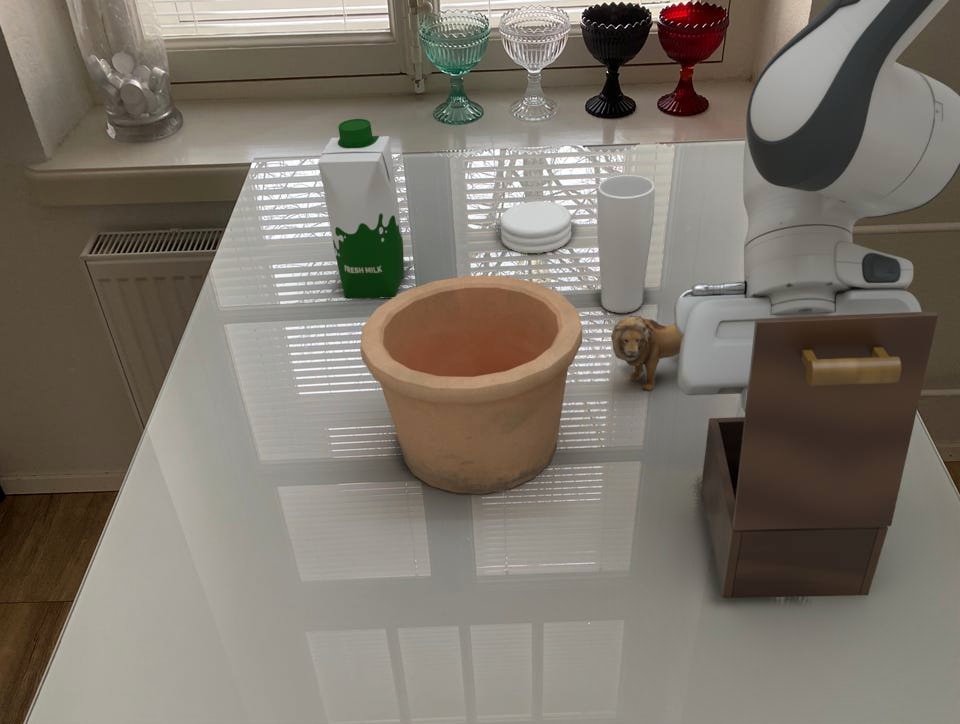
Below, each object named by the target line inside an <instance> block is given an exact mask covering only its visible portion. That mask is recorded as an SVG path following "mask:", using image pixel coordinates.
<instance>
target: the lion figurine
mask: <svg viewBox="0 0 960 724" xmlns="http://www.w3.org/2000/svg"><path fill="white" fill-rule="evenodd" d="M610 339H611V342H612V351H613V353H614V355H615V357H616V358H617V359H619V360H622V361H625V362H626V364H628V365H629V366H630V367H634V371H633V372H631V373H630V375H629V379H630V380H631V381H638V380H639V379H640V378H641V377H642V374H643V372H644V367H645V372H646V378H645V382H644V383H643V384H642V389H643V390H644V391H649V392H650V391H652V390H653V389H654V387H655V385H656V371H657V368H658V367H657V366H658V364H659V362H660V359H668V358H671V357H675V356H677V355H679V353H680V346H681V340H682V336H681V335H680V334H679V333H678V331H677V329H676V327H675V323H671V324H667V325H661V324H660V323H658V321H656V320H654V319H650V318H645V317H642V316H641V315H638V316H637V315H629V316H625V317H622V318H620V319H619V320H618V321H617V323H615V324H614V326H613V329H612V332H611V336H610Z"/></svg>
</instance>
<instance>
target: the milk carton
mask: <svg viewBox="0 0 960 724" xmlns="http://www.w3.org/2000/svg"><path fill="white" fill-rule="evenodd" d="M337 128H338V135H339V137H331V138H330V140H329V141H328V143H327V144H326V146H325V147H324V149H323V150H322V152H321V155H320V157H319V159H318V161H317V165H318V169H319V173H320V177H321V183H322V187H323V194H324V199H325V200H324V201H325V206H326V211H327V216H328V223H329V228H330V232H331V240H332V244H333V249H334V254H335V258H336V263H337V264H336V265H337V269H338V273H339V279H340V283H341V287H342V292H343V296H344V299H345V298H347V299H381V298H380V297H395V296H397V294H398V291H399V289H400V286H401V283H400V282H402V280H403V277H404V275H405V263H404V261H405V259H404V258H405V257H404V256H405V255H404V240H403V232H402V223H401V216H400V215H401V214H400V207H399V200H398V192H397V184H396V176H395V169H394V163H393V155H392V148H391V139H390V136H389V135H384V136H383V135H382V136H380V135H373V130H372V124H371V121H369V120H368V119H365V118H351V119H347V120H344V121H342V122H340V123H339V124H338V126H337ZM403 274H404V275H403ZM401 279H402V280H401ZM399 285H400V286H399ZM398 288H399V289H398ZM396 293H397V294H396Z"/></svg>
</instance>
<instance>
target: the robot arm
mask: <svg viewBox="0 0 960 724" xmlns="http://www.w3.org/2000/svg"><path fill="white" fill-rule="evenodd" d="M948 2H950V0H830V1H829V3H827V5H826V6H825V7H823V9H822V10H821V11H820V12H819V13H818V14H816V16H815V17H814V18H813V19H812V20H811V21H810V22H808V23H807V25H805V26H804V27H803V28H802V29H801V30H799V31H798V33H796V34H795V35H794V36H793V37H792V38H791V39H790V40H789V41H787V42H786V43H785V44H784V45H783V46H782V47H781V48H780V49H779V50H778V51H777V52H776V53H775V54H774V55H773V56H772V57H771V59H770V60H769V61H768V63H767V64H766V65H765V67H764V68H763V70H762V71H761V73H760V74H759V76H758V78H757V80H756V82H755V84H754V86H753V88H752V91H751V93H750V97H749V100H748V104H747V110H746V120H745V121H746V122H745V127H746V129H745V130H746V133H745V140H744V149H743V168H742V170H743V171H742V173H743V174H742V182H743V183H742V190H743V191H742V193H743V194H742V195H743V197H742V199H743V204H744V208H745V211H746V214H747V222H748V223H747V224H748V225H747V232H746V236H745V239H744V243H743V276H744V277H743V281H733V282H721V283H714V284H709V283H696V284H693V285H692V286H691V288H689V289H686V290H685V291H683V292H682V293H681V294H680V295H679V296H678V297H677V298H676V300H675V303H674V324H675V327H676V329H677V331H678V333H679V334H680V335H681V336H682V340H681V346H680V353H679V354H678V362H677V386H678V387H679V388H680V390H681V391H682V392H683V393H684V395H686V396H707V395H708V396H709V395H710V396H712V395H713V396H714V395H716V396H717V395H741V397H740V399H741V400H740V401H741V408H742V410H743V411H744V412H745V409H746V400H747V391H748V382H749V373H750V364H751V355H752V346H753V336H754V327H755V319H763V318H787V317H812V316H836V315H860V314H885V313H909V312H923V310H922V309H921V304H920V303H919V301H918V300H917V298H916V297H915V295H913V294H912V293H911V292H909V291H907V289H908V288H909V286H910V285H911V283H912V282H913V279H914V265H913V263H912V261H911V260H908V259H907V258H904V257H900V256H897V255H893V254H890V253H885V252H881V251H879V250H875V249H872V248H869V247H866V246H863V245H859V244H856V243H854V242H853V241H854V235H853V233H854V232H853V230H854V226H855V223H856V222H858V221H859V220H861V219H863V218H864V219H865V218H866V219H873V218H880V217H881V218H882V217H888V216H893V215H897V214H901V213H905V212H906V213H907V212H910V211H913V210H916V209H919V208H922V207H923V206H925V205H927V204H929V203H930V202H932V201H933V200H934V199H935V198H937V197H938V195H940V194H941V193H942V192H943V191H944V190H945V189H946V188H947V187H948V186H949V185H950V183H951V182H952V181H953V179H954V178H955V176H956V175H957V173H958V172H959V169H960V94H959V93H958V92H957V91H956V90H954V89H952V88H951V87H950V86H947V85H946V84H944V82H943V83H942V82H941V81H939V80H937V79H936V78H933V77H931V76H929V75H927V74H925V73H923V72H921V71H918V70H916V69H914V68H911V67H907V66H904V65H902V64H901V63H898V62H896V61H897V60H898V58H899V57H900V56H901V54H902V53H903V52H904V51H905V50H906V48H908V47H909V46H910V44H911V43H913V41H914V40H915V39H916V38H917V36H918V35H919V34H920V33H921V32H922V31H923V30H924V29H925V28H926V26H928V24H929V23H930V22H931V21H932V20H933V19H934V18H935V17H936V15H937V14H938V13H939V12H940V11H941V10H942V9H943V8H944V7H945V6H946V4H947V3H948ZM689 295H691V296H689Z"/></svg>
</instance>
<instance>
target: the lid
mask: <svg viewBox="0 0 960 724" xmlns="http://www.w3.org/2000/svg"><path fill="white" fill-rule="evenodd" d="M938 318H939V314H938V313H937V312H936V311H933V310H932V311H922V312H909V313H885V314H860V315H836V316H812V317H787V318H763V319H755V327H754V336H753V346H752V355H751V364H750V373H749V382H748V391H747V400H746V409H745V411H744V417H745V418H744V427H743V436H742V445H741V454H740V463H739V472H738V482H737V491H736V500H735V509H734V518H733V528H734V530H762V529H802V528H842V527H882V526H887V527H892V523H893V520H894V515H895V510H896V505H897V501H898V497H899V492H900V489H901V484H902V479H903V475H904V470H905V466H906V461H907V456H908V452H909V449H910V443H911V439H912V435H913V430H914V426H915V422H916V418H917V417H916V416H917V412H918V409H919V408H918V407H919V403H920V400H921V399H920V398H921V394H922V390H923V386H924V380H925V376H926V372H927V368H928V363H929V358H930V354H931V349H932V345H933V340H934V336H935V332H936V327H937V322H938Z"/></svg>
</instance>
